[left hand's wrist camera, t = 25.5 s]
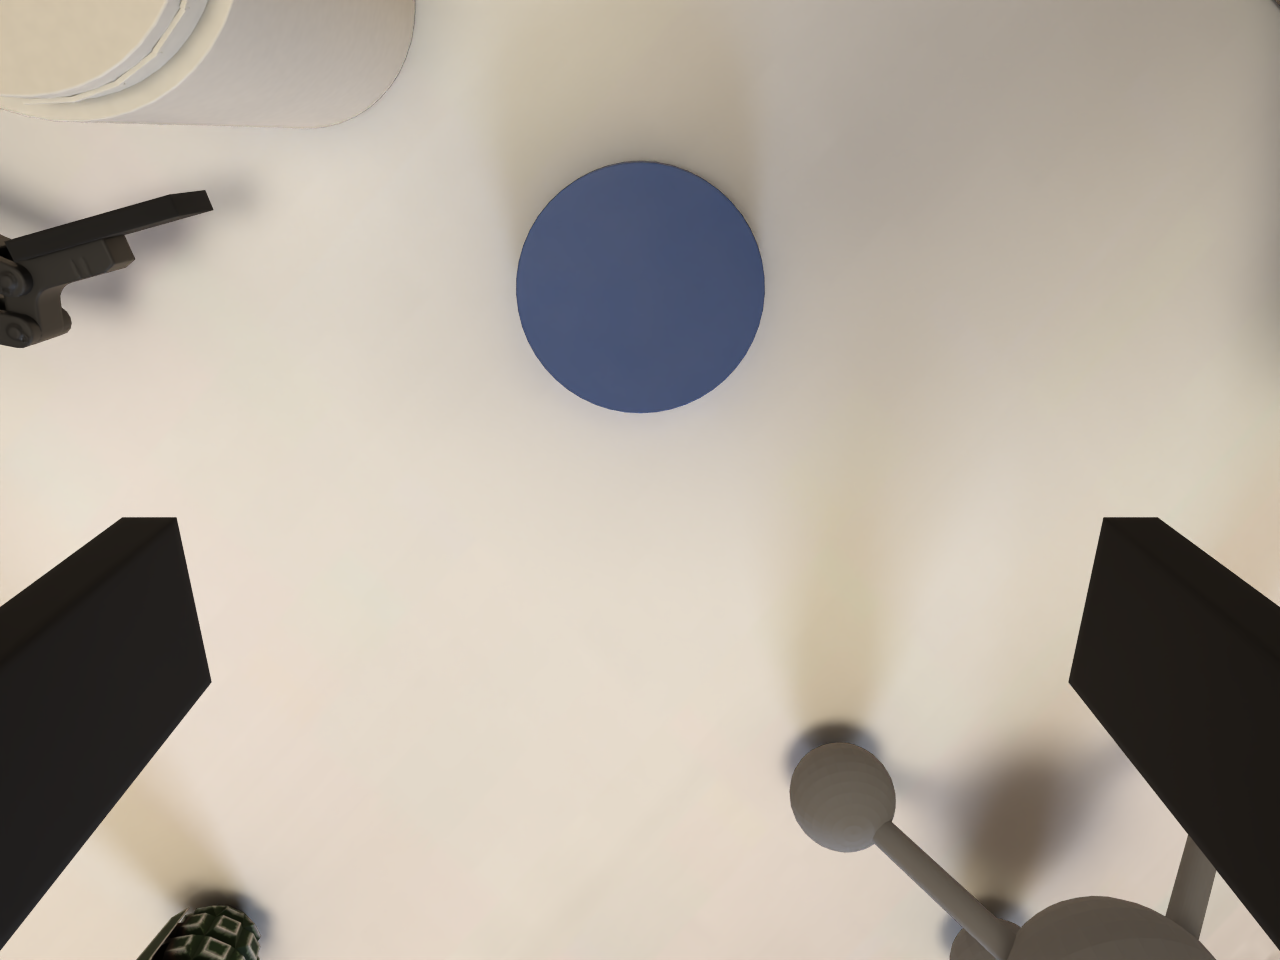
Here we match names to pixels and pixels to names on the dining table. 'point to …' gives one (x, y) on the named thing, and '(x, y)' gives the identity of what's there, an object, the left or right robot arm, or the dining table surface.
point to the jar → (201, 60)
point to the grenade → (206, 936)
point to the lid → (640, 287)
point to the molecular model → (986, 946)
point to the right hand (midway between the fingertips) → (108, 0)
